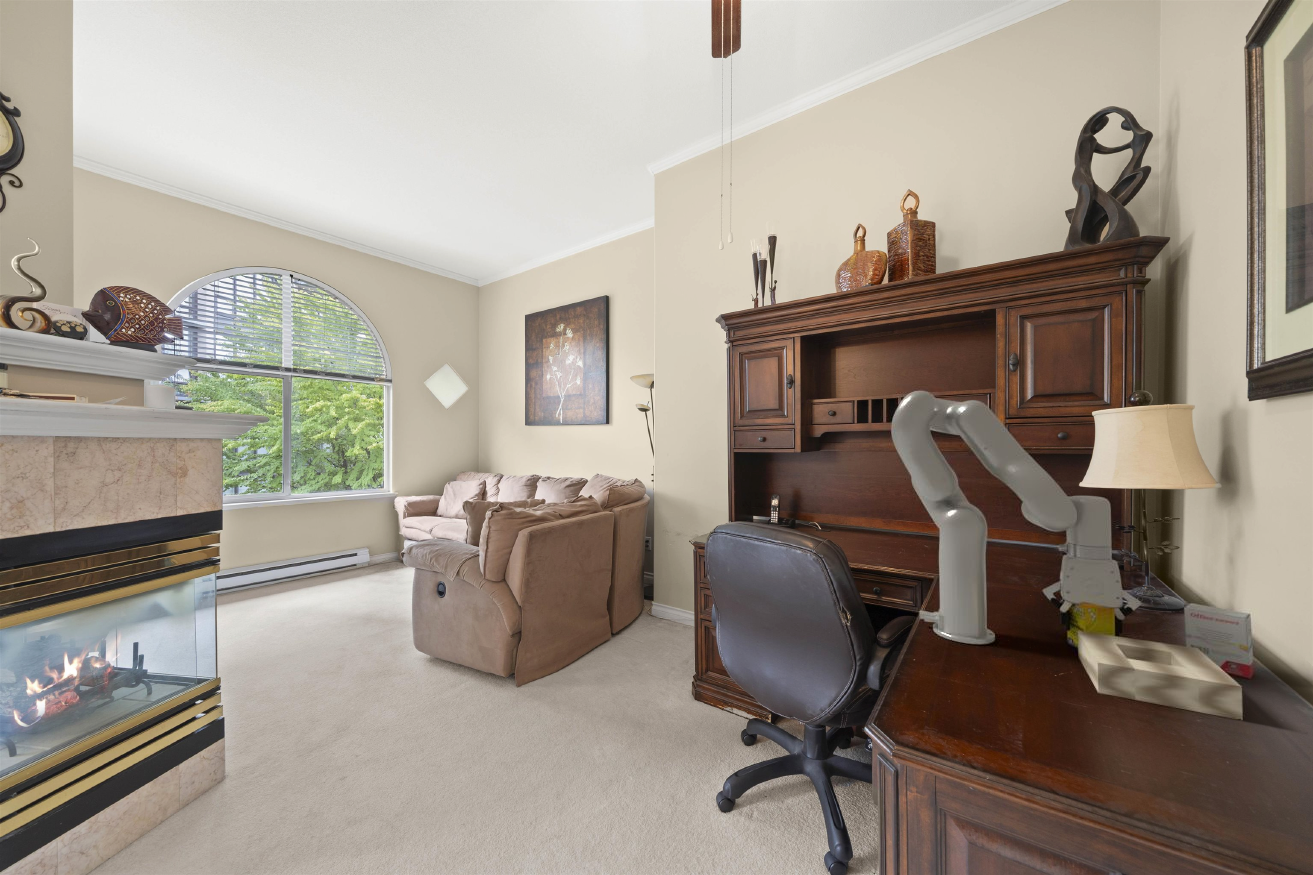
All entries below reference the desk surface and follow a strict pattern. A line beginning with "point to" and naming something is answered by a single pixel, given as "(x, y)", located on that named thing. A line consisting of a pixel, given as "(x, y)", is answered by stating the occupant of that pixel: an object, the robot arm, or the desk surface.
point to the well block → (1159, 674)
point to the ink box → (1221, 637)
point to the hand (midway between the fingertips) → (1090, 631)
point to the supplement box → (1090, 621)
